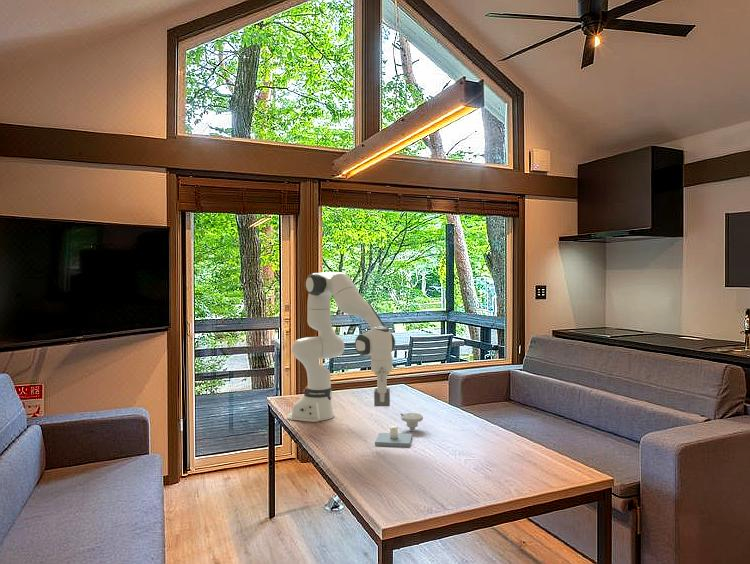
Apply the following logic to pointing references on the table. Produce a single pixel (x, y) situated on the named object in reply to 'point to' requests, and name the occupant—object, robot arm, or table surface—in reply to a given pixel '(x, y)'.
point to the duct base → (394, 442)
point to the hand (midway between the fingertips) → (382, 399)
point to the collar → (386, 398)
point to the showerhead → (412, 420)
